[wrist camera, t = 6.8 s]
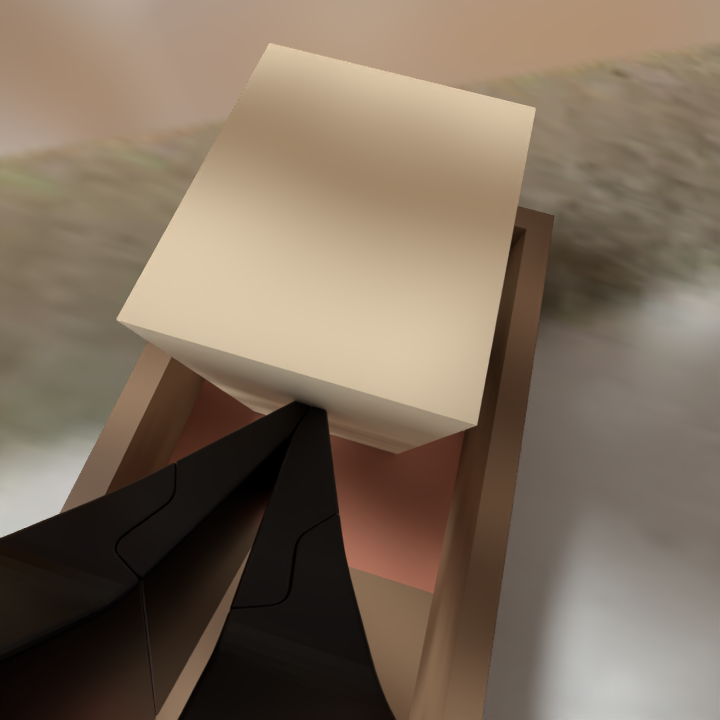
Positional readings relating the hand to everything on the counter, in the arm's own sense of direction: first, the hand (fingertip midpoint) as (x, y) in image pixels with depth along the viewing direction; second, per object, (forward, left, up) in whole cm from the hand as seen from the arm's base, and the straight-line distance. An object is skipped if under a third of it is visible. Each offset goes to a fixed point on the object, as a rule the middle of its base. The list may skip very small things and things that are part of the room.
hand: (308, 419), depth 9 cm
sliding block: (+3, -3, -5) cm, 7 cm away
